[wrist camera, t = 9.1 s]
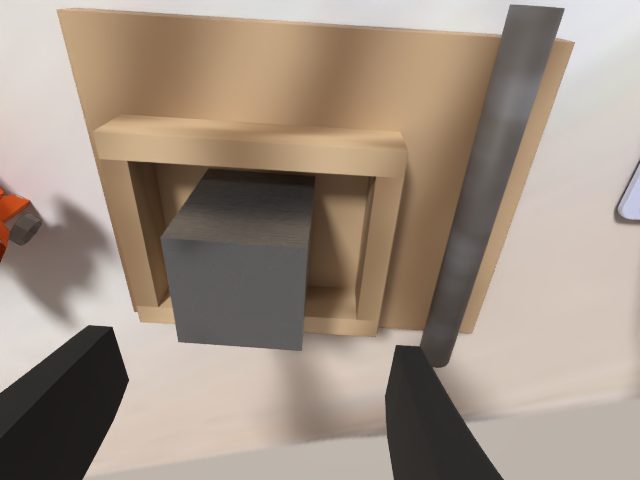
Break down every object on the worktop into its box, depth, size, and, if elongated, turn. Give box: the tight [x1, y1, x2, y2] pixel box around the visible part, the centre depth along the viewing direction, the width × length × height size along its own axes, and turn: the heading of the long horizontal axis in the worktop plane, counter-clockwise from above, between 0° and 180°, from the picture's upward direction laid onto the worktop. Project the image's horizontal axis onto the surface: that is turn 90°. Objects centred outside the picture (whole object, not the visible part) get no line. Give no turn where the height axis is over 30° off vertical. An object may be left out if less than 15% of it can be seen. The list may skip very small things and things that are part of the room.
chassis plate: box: [57, 5, 575, 368], centre depth 17 cm, size 18×16×3 cm
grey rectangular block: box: [160, 168, 315, 351], centre depth 16 cm, size 4×4×6 cm
